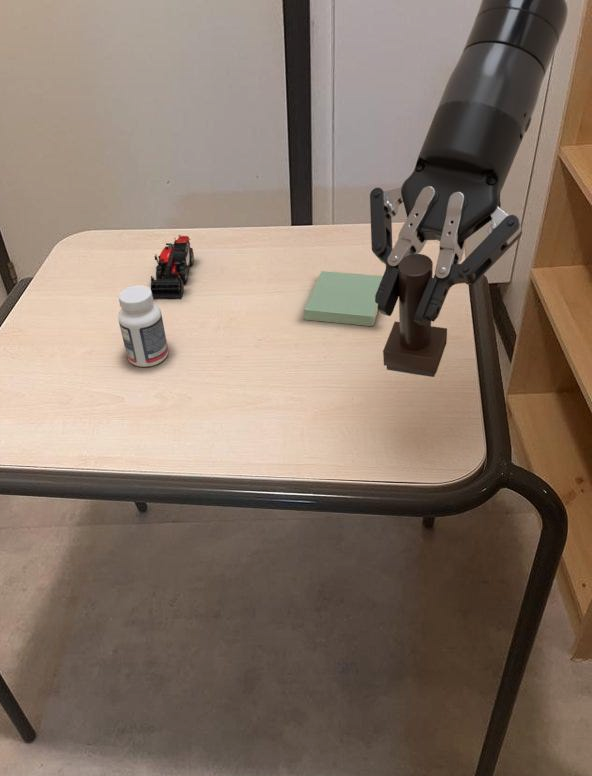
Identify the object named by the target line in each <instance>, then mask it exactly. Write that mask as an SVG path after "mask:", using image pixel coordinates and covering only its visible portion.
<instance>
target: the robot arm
mask: <svg viewBox="0 0 592 776" xmlns="http://www.w3.org/2000/svg"><path fill="white" fill-rule="evenodd" d="M568 9H569V8H568V4H567V1H566V0H481V1H480V5H479V8H478V11H477V14H476V16H475V19H474V22H473V25H472V27H471V30H470V32H469V34H468V37H467V40H466V41H465V45H464V47H463V50H462V53H461V55H460V57H459V59H458V61H457V63H456V65H455V66H454V69H453V70H452V72H451V74H450V76H449V78H448V80H447V82H446V85H445V88H444V90H443V93H442V94H441V95H442V96H441V98H440V101H439V103H438V106H437V108H436V110H435V113H434V115H433V118H432V121H431V123H430V126H429V128H428V131H427V134H426V135H425V139H424V141H423V144H422V146H421V149H420V152H419V154H418V156H417V160H416V163H415V166H414V169H413V171H412V173H411V174H410V175H409V176H408V177H407V178H406V179H405V180H404V182H403V183H402V185H401V187H398V188H393V189H389V190H383V188H381V187H375V188H373V189H372V190H371V191H370V193H369V207H370V208H369V209H370V237H371V238H370V239H371V241H370V242H371V252H372V253H373V254H374V255H375V256H376V257H377V258H378V259H379V261H380V262H381V263H383V264H385V270H384V273H383V275H382V276H383V277H382V280H381V283H380V285H379V288H378V290H377V293H376V295H375V302H376V303H377V304H378V312H379V313H380V314H381V315H384V316H387V317H391V316H392V314H393V313H394V309H395V308H396V305H397V303H398V301H399V274H398V265H399V263H400V261H401V260H402V259H403V258H404V257H406V256H408V255H412V254H421V252H422V251H423V249H424V247H425V245H426V244H427V242H428V241H439V252H438V257H437V261H436V265H435V269H434V275H433V277H432V278H431V277H430V278H429V280H428V283H427V285H426V288H425V290H424V293H423V295H422V298H421V300H420V303H419V305H418V308H417V310H416V313H415V316H414V321H415V322H416V323H417V324H418V325H421V326H425V327H426V326H427V325H428V323H429V321H431V322H433V323H434V322H435V321H436V320H437V319H438V318H439V315H440V313H441V311H442V308H443V306H444V303H445V301H446V298H447V296H448V293H449V291H450V289H451V288H452V287H453V286H455V285H458V284H459V285H461V284H466V285H469V286H471V285H474V284H476V283H477V282H478V281H479V280H480V279H481V278H482V277H483V276H484V275H485V274H486V273H487V271H489V270H490V269H491V267H492V266H494V265H495V264H496V262H497V261H499V259H500V258H501V257H503V256H504V254H505V253H506V252H507V251H508V250H509V249H510V248H511V247H512V246H513V245H514V244H515V243H516V242H517V241H518V240H519V239H520V238H521V237H522V235H523V230H522V225H521V222H520V220H519V217H518V216H517V215H515V214H509V213H507V212H506V211H504V210H503V209H502V207H501V205H502V204H501V203H502V202H501V192H502V189H503V187H504V185H505V183H506V180H507V178H508V176H509V173H510V171H511V168H512V166H513V163H514V161H515V158H516V156H517V154H518V151H519V148H520V146H521V143H522V141H523V139H524V137H525V134H526V133H527V132H528V130H529V128H530V125H531V122H532V117H533V114H534V111H535V109H536V106H537V103H538V100H539V95H540V91H541V88H542V84H543V81H544V79H545V76H546V74H547V72H548V70H549V67H550V64H551V61H552V59H553V57H554V54H555V52H556V49H557V46H558V44H559V42H560V39H561V38H562V35H563V32H564V29H565V28H566V23H567V20H568V15H569V10H568ZM401 204H403V206H404V210H405V214H406V217H407V218H406V220H405V222H404V223H403V225H402V227H401V229H399V232H398V237H397V240H396V242H395V244H394V246H393V226H392V225H393V221H392V218H393V217H396V215H397V214H398V211H399V207H400V205H401ZM490 222H491V223H490ZM489 223H490V225H489V226H488V227H487V234H488V235H487V236H486V237H485V238H484V239H483V240H482V241H481V243H480V244H478V245H477V247H475V249H474V250H473V251H472V252H471V253H469V255H468V256H467V257H466V258H465V259H464V260H463V261H462V259H463V255H464V252H465V247H466V243H467V239H468V238H470V237H471V236H472V235H474V234H475V233H477V232H478V231H479V230H480V229H482V228H483V227H485V226H486V225H487V224H489ZM461 261H462V262H461Z"/></svg>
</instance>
